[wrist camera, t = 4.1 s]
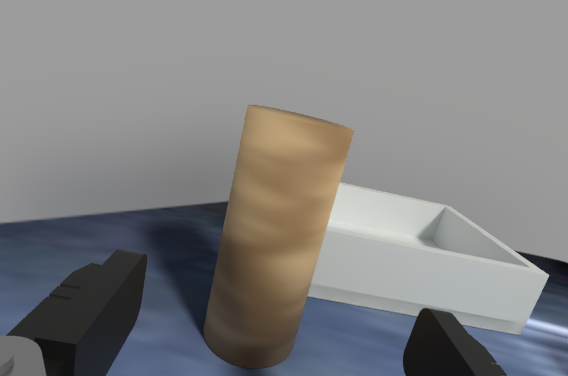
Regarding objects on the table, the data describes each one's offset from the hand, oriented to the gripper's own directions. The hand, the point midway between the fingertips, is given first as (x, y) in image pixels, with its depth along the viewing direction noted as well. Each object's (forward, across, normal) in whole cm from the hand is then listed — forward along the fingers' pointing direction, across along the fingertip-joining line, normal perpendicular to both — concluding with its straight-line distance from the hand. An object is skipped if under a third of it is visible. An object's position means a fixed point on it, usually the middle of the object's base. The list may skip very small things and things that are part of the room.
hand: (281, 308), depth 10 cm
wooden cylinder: (+8, 0, +7) cm, 11 cm away
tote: (+20, -11, +7) cm, 24 cm away
